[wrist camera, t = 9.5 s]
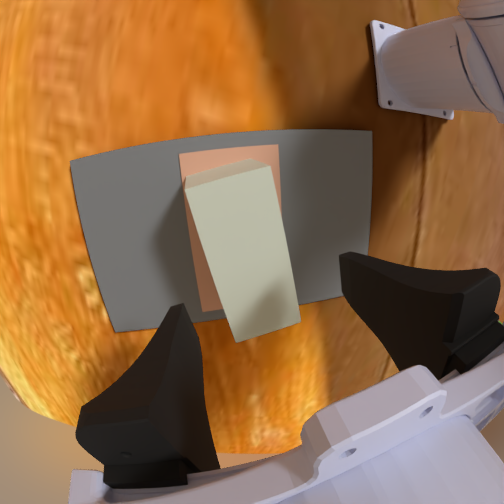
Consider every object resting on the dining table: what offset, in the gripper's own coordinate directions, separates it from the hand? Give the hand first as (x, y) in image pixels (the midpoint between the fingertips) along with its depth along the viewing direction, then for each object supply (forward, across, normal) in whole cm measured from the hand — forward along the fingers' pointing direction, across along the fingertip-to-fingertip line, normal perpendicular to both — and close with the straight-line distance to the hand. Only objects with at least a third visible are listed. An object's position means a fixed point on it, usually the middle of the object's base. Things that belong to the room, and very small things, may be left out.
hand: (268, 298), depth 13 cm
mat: (+9, 0, 0) cm, 9 cm away
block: (+9, 0, 0) cm, 9 cm away
